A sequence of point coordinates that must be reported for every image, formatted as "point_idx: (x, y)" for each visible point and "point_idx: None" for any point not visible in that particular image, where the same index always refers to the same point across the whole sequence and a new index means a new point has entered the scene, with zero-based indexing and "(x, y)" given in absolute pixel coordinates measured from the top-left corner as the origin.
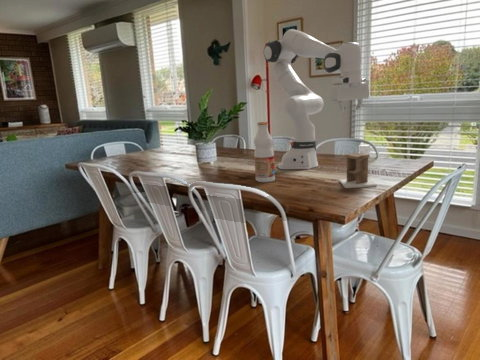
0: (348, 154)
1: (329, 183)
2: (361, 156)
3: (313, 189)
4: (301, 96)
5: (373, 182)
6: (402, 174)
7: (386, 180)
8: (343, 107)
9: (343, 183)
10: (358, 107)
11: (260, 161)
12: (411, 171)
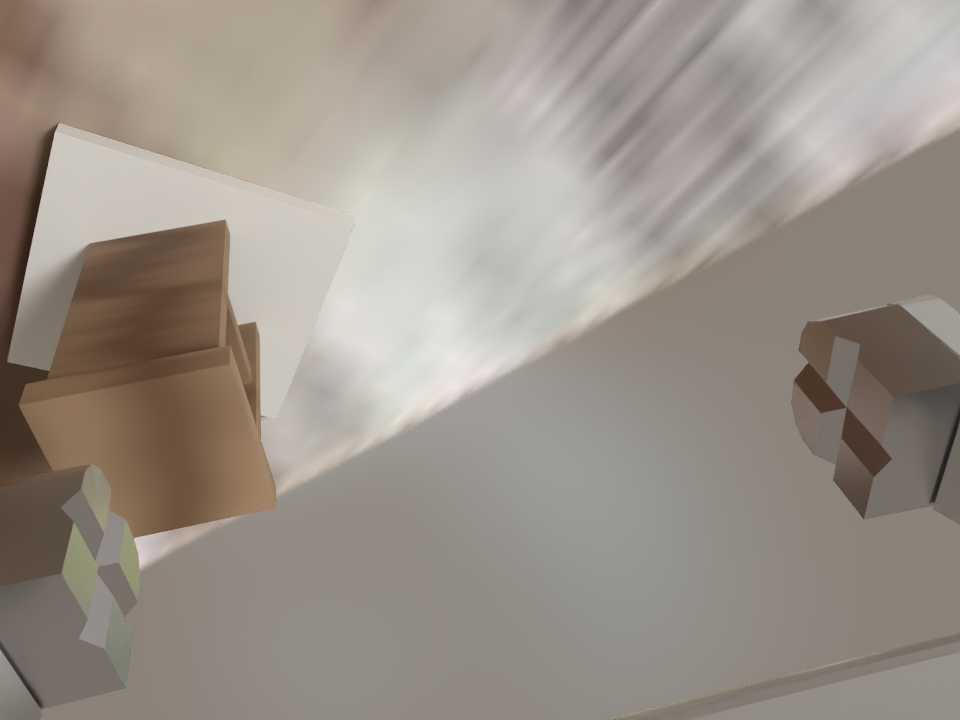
0: (63, 410)
1: None
2: (156, 529)
3: None
4: None
5: (288, 370)
6: (731, 190)
7: (469, 294)
8: (17, 697)
9: (23, 295)
10: (837, 454)
11: None
12: (879, 138)
